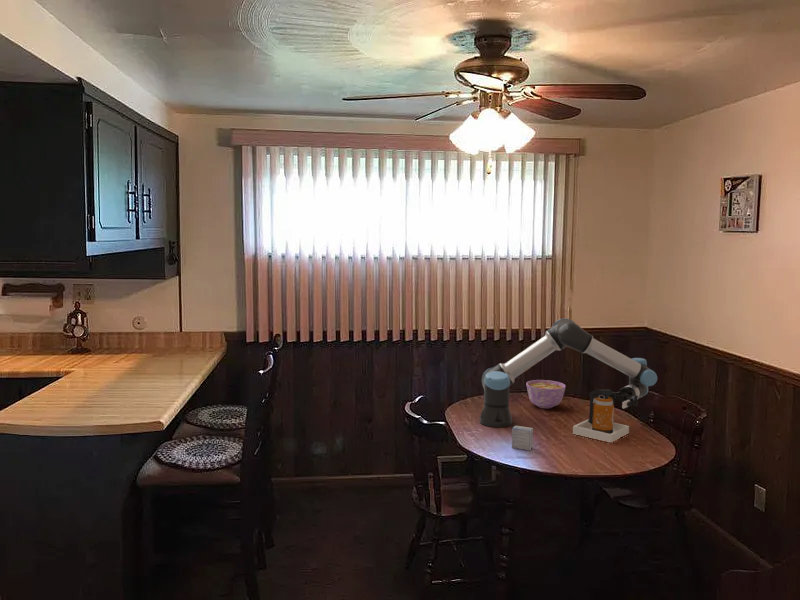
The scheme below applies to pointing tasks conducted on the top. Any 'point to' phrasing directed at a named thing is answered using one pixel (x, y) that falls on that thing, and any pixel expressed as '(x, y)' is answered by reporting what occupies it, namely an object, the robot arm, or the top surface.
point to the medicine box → (522, 437)
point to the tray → (586, 430)
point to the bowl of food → (545, 392)
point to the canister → (601, 410)
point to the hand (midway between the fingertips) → (608, 402)
